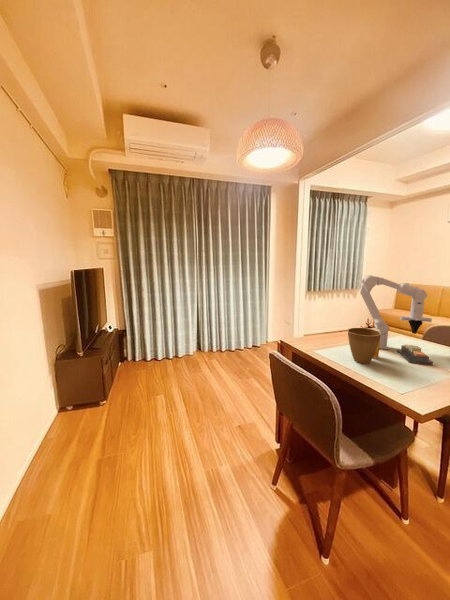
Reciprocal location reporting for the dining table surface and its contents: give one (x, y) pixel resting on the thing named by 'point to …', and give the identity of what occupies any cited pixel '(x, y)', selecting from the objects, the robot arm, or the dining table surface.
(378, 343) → the beer can
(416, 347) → the key sage
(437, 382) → the dining table surface
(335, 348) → the dining table surface
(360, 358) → the plant pot
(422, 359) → the console
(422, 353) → the key terracotta
